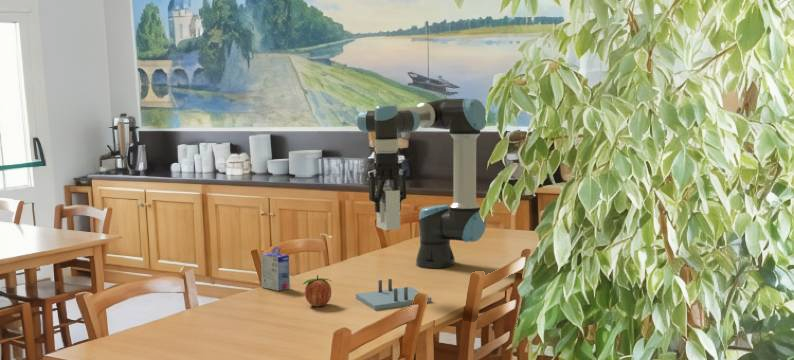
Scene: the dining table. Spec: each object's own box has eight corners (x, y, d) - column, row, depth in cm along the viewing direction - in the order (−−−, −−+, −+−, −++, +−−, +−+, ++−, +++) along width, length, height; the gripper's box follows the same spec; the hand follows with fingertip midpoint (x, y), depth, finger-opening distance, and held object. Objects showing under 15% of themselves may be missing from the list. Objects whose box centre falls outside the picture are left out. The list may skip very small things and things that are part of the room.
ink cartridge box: (291, 288, 298) (289, 248, 297) (279, 291, 294) (277, 251, 293) (273, 284, 305) (271, 245, 303) (261, 287, 301) (259, 247, 299)
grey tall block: (390, 225, 287) (389, 187, 286) (400, 229, 279) (400, 190, 277) (376, 226, 285) (375, 188, 284) (386, 230, 277) (385, 191, 275)
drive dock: (410, 290, 290) (409, 275, 290) (431, 302, 275) (431, 285, 274) (355, 298, 282) (355, 282, 282) (374, 310, 267) (374, 293, 266)
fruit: (334, 307, 271) (332, 277, 270) (304, 310, 270) (303, 279, 268) (331, 301, 280) (330, 271, 278) (302, 303, 278) (301, 273, 277)
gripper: (407, 150, 286) (408, 217, 289) (357, 152, 279) (359, 221, 282) (416, 151, 279) (417, 220, 282) (365, 153, 272) (366, 225, 275)
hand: (388, 221), depth 282 cm, fingers closed on grey tall block, 5 cm apart
